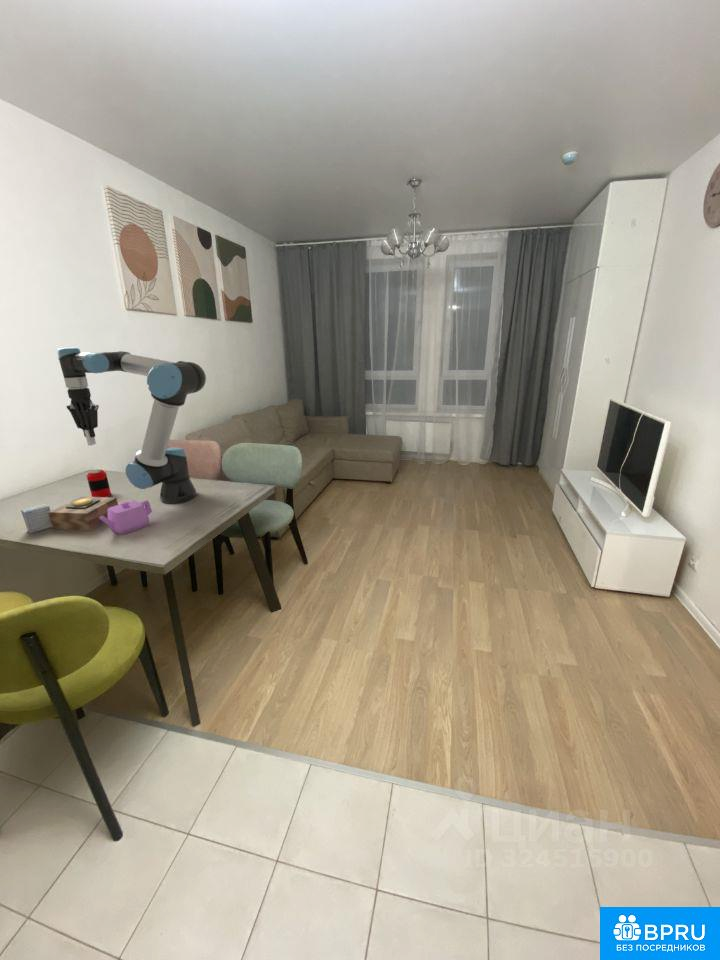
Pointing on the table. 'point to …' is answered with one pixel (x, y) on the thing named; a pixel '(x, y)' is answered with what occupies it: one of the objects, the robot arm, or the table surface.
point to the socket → (81, 514)
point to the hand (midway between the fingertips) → (92, 444)
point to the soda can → (98, 483)
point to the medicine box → (37, 518)
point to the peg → (82, 502)
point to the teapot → (128, 516)
